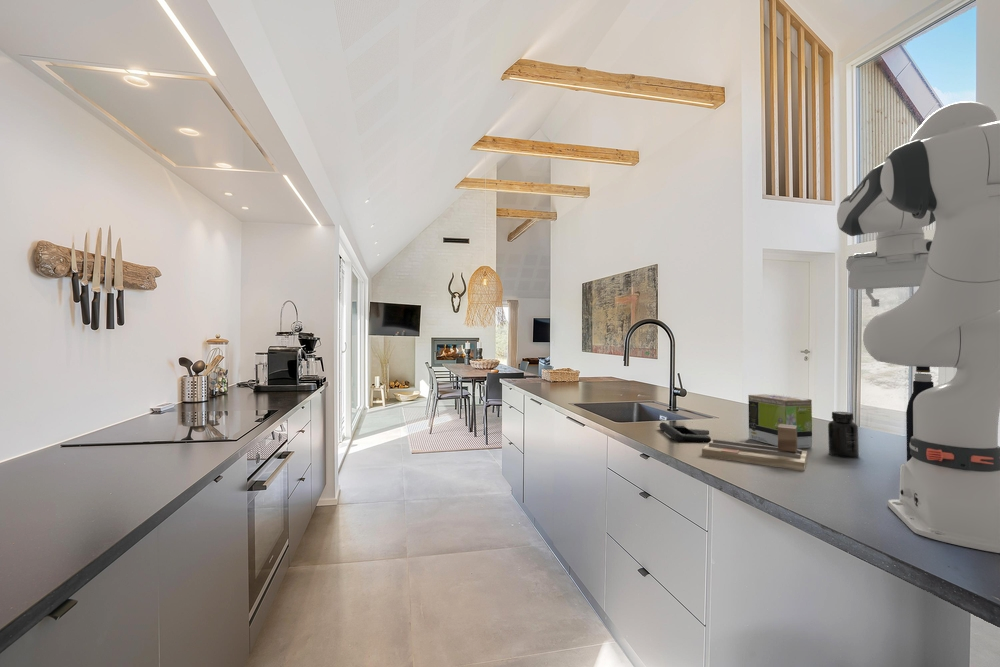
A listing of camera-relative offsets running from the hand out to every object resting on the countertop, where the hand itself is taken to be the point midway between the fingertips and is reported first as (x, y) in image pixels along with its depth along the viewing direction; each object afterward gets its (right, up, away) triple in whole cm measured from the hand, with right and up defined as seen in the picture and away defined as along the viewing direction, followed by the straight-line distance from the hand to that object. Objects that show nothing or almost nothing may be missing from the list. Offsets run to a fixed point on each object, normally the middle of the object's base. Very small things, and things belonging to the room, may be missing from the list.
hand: (900, 305), depth 109 cm
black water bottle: (+8, -41, +2) cm, 42 cm away
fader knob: (-21, -39, +10) cm, 46 cm away
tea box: (-10, -42, +31) cm, 53 cm away
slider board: (-27, -42, +15) cm, 52 cm away
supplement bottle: (-1, -42, +17) cm, 45 cm away
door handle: (-35, -42, +42) cm, 69 cm away
